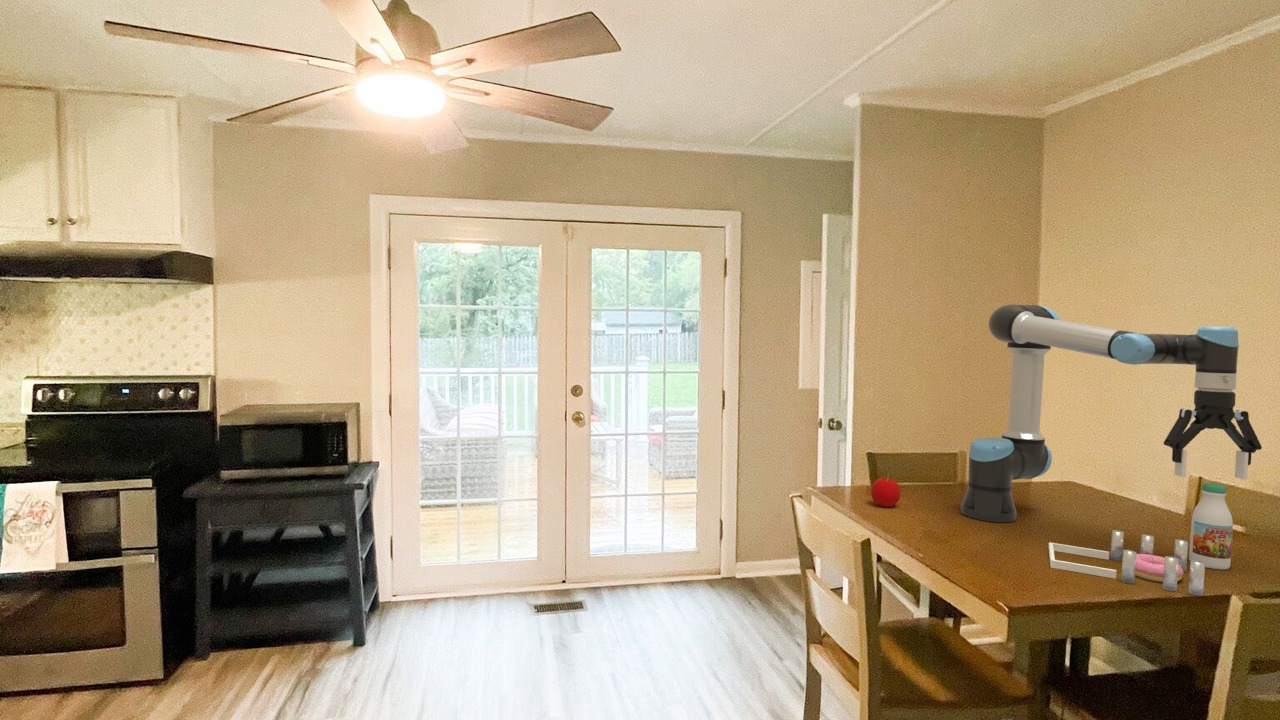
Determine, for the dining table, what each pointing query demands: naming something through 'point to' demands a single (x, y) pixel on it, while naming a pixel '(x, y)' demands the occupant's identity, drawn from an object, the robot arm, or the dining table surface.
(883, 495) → the fruit
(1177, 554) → the spacers
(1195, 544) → the milk bottle
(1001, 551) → the dining table surface
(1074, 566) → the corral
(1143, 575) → the doughnut
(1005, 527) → the dining table surface
